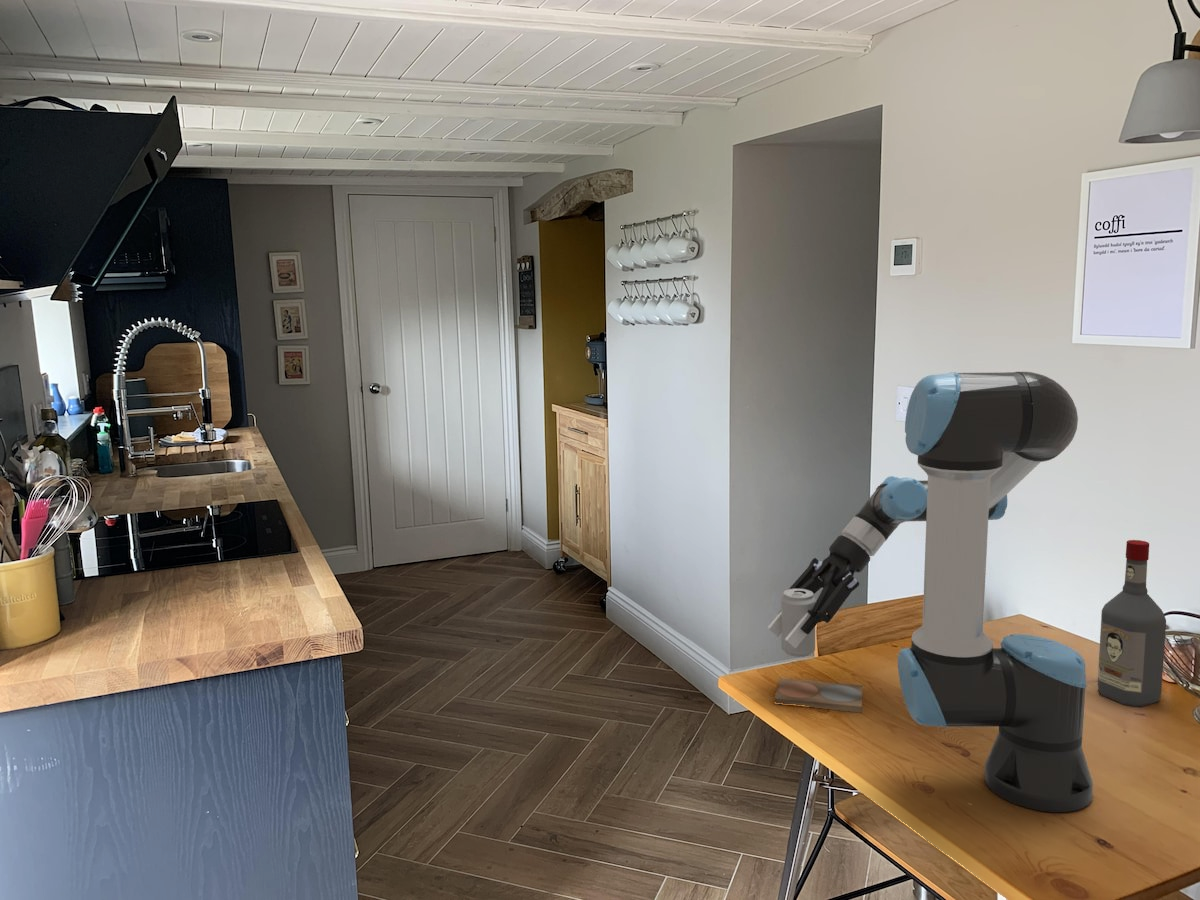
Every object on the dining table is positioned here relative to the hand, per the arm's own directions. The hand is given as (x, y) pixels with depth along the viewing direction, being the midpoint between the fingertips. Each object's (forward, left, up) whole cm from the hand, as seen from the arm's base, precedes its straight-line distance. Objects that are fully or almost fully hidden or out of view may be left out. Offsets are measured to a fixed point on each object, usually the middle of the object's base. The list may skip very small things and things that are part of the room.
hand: (781, 637), depth 175 cm
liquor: (+16, -64, -12) cm, 67 cm away
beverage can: (+2, -3, -4) cm, 5 cm away
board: (+2, -7, -12) cm, 14 cm away
